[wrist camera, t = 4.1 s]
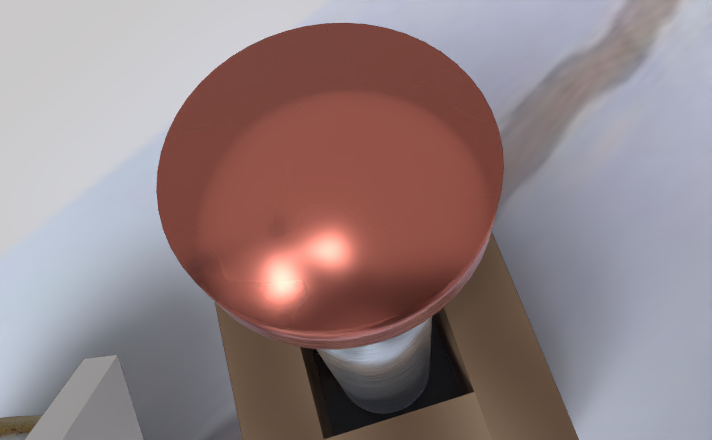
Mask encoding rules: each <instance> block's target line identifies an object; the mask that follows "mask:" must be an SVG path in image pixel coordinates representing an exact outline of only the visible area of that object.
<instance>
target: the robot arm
mask: <svg viewBox="0 0 712 440" xmlns="http://www.w3.org/2000/svg"><path fill="white" fill-rule="evenodd" d="M25 440H144V439H143V435H142V432H141V429H140V426H139V423H138V419H137V416H136V413H135V410H134V406H133V403H132V400H131V397H130V393H129V390H128V387H127V384H126V381H125V377H124V374H123V371H122V368H121V364H120V361H119V358H118V355H111V356H103V357H95V358H87V359H83V361H82V362H81V364H80V365H79V366H78V368H77V369H76V370H75V372H74V373H73V375H72V376H71V377H70V379H69V380H68V381H67V383H66V384H65V385H64V387H63V388H62V390H61V391H60V392H59V394H58V395H57V396H56V398H55V399H54V401H53V402H52V403H51V405H50V406H49V407H48V409H47V410H46V411H45V413H44V414H43V416H42V417H41V418H40V420H39V421H38V422H37V424H36V425H35V426H34V428H33V429H32V431H31V432H30V433H29V435H28V436H27V437H26V439H25Z"/></svg>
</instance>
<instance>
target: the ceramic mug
mask: <svg viewBox="0 0 712 440" xmlns="http://www.w3.org/2000/svg"><path fill="white" fill-rule="evenodd" d="M42 416H43V415H42ZM42 416H17V417H5V418H0V440H25V439H26V437H27V436H28V435H29V433H30V432H31V431H32V429H33V428H34V426H35V425H36V424H37V422H38V421H39V420H40V418H41V417H42Z"/></svg>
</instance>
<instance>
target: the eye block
mask: <svg viewBox="0 0 712 440" xmlns="http://www.w3.org/2000/svg"><path fill="white" fill-rule="evenodd" d="M215 306H216V311H217V316H218V321H219V326H220V331H221V336H222V341H223V346H224V350H225V355H226V360H227V365H228V370H229V375H230V380H231V385H232V390H233V395H234V400H235V405H236V410H237V415H238V420H239V425H240V430H241V434H242V439H243V440H579V439H578V436H577V434H576V432H575V429H574V427H573V424H572V422H571V420H570V417H569V415H568V413H567V410H566V408H565V405H564V403H563V401H562V398H561V396H560V393H559V391H558V389H557V386H556V384H555V382H554V379H553V377H552V374H551V372H550V370H549V367H548V365H547V362H546V360H545V358H544V355H543V353H542V351H541V348H540V346H539V343H538V341H537V339H536V336H535V334H534V331H533V329H532V327H531V324H530V322H529V319H528V317H527V315H526V312H525V310H524V308H523V305H522V303H521V300H520V298H519V296H518V293H517V291H516V288H515V286H514V284H513V281H512V279H511V277H510V274H509V272H508V269H507V267H506V265H505V262H504V260H503V257H502V255H501V253H500V250H499V248H498V246H497V243H496V241H495V238H494V236H493V234H492V231H491V235H490V239H489V242H488V245H487V247H486V249H485V252H484V254H483V257H482V259H481V261H480V263H479V264H478V266H477V268H476V269H475V271H474V273H473V274H472V276H471V278H470V279H469V280H468V282H467V283H466V284H465V285H464V287H463V288H462V289H461V290H460V292H459V293H458V294H457V295H456V296H455V297H454V298H453V299H452V300H451V301H450V302H449V303H448V304H447V305H446V306H445V307H444V308H442V309H441V310H440V311H439V312H437V313H436V314H435V315H433V316H434V319H435V321H436V324H437V327H438V330H439V333H440V336H441V338H442V341H443V344H444V347H445V350H446V353H447V355H448V358H449V361H450V364H451V367H452V369H453V372H454V375H455V378H456V381H457V384H458V386H459V389H460V392H461V395H462V396H460V397H457V398H454V399H450V400H447V401H444V402H441V403H438V404H435V405H431V406H428V407H425V408H422V409H419V410H416V411H412V412H409V413H406V414H403V415H400V416H397V417H393V418H390V419H387V420H384V421H381V422H378V423H374V424H371V425H368V426H365V427H362V428H359V429H355V430H352V431H349V432H346V433H343V434H340V435H336V436H335V434H334V430H333V426H332V423H331V419H330V415H329V411H328V407H327V404H326V400H325V396H324V392H323V388H322V385H321V381H320V377H319V373H318V369H317V365H316V362H315V358H314V354H313V350H312V349H310V348H304V347H298V346H292V345H288V344H285V343H282V342H278V341H275V340H272V339H269V338H267V337H265V336H263V335H261V334H259V333H256V332H254V331H252V330H250V329H249V328H247V327H246V326H244V325H243V324H241V323H240V322H238V321H236V320H235V319H234V318H232V317H231V316H230V315H229V314H228V313H227V312H226V311H224V310H223V309H222V308H221V307H220V306H219V305H218V304H217V303H216V302H215Z"/></svg>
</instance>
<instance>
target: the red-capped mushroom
mask: <svg viewBox="0 0 712 440" xmlns="http://www.w3.org/2000/svg"><path fill="white" fill-rule="evenodd" d="M503 170H504V166H503V148H502V144H501V139H500V134H499V129H498V126H497V124H496V121H495V118H494V116H493V113H492V110H491V108H490V107H489V105H488V103H487V101H486V99H485V98H484V96H483V94H482V92H481V91H480V90H479V88H478V87H477V86H476V84H475V83H474V82H473V80H472V79H471V78H470V77H469V76H468V75H467V74H466V73H465V72H464V71H463V70H462V69H461V68H460V67H459V66H458V65H457V64H456V63H455V62H454V61H452V60H451V59H450V58H448V57H447V56H446V55H445V54H443V53H442V52H441V51H439V50H437V49H435V48H434V47H432V46H430V45H429V44H427V43H425V42H423V41H421V40H419V39H416V38H414V37H412V36H409V35H407V34H404V33H401V32H398V31H395V30H391V29H388V28H383V27H378V26H373V25H367V24H354V23H327V24H319V25H311V26H305V27H301V28H296V29H292V30H288V31H285V32H282V33H279V34H276V35H273V36H270V37H267V38H265V39H263V40H261V41H259V42H257V43H255V44H252V45H250V46H248V47H247V48H245V49H244V50H242V51H240V52H238V53H237V54H235V55H233V56H232V57H230V58H229V59H228V60H226V61H225V62H224V63H222V64H221V65H220V66H218V67H217V68H216V69H215V70H213V71H212V72H211V73H210V74H209V75H208V76H207V77H206V78H205V79H204V80H203V81H202V82H201V83H200V84H199V85H198V86H197V88H196V89H195V90H194V91H193V92H192V93H191V95H190V96H189V97H188V98H187V100H186V101H185V103H184V104H183V106H182V107H181V109H180V110H179V112H178V113H177V115H176V117H175V119H174V121H173V123H172V125H171V127H170V129H169V131H168V133H167V136H166V139H165V142H164V145H163V148H162V151H161V155H160V161H159V166H158V171H157V201H158V211H159V215H160V219H161V223H162V226H163V230H164V233H165V235H166V237H167V240H168V242H169V244H170V247H171V249H172V251H173V252H174V254H175V256H176V257H177V259H178V260H179V262H180V264H181V265H182V267H183V268H184V269H185V270H186V271H187V273H188V274H189V275H190V276H191V277H192V279H193V280H194V281H195V282H196V283H197V284H198V285H199V286H200V287H201V288H202V289H203V290H204V291H205V292H206V293H207V294H208V295H209V296H210V297H211V298H212V299H213V300H214V301H215V302H216V303H217V304H218V305H219V306H220V307H221V308H222V309H223V310H224V311H226V312H227V313H228V314H229V315H230V316H231V317H232V318H234V319H235V320H236V321H238V322H240V323H241V324H243V325H244V326H246V327H247V328H249V329H250V330H252V331H254V332H256V333H259V334H261V335H263V336H265V337H267V338H269V339H272V340H275V341H278V342H282V343H285V344H288V345H292V346H298V347H304V348H310V349H316V350H317V351H318V353H319V354H320V356H321V357H322V359H323V360H324V362H325V363H326V365H327V366H328V368H329V369H330V371H331V372H332V374H333V375H334V377H335V378H336V380H337V381H338V383H339V384H340V386H341V388H342V389H343V391H344V392H345V393H346V395H347V396H348V397H349V399H350V400H351V401H352V402H354V403H355V404H356V405H358V406H359V407H361V408H363V409H365V410H367V411H370V412H374V413H384V414H385V413H393V412H397V411H400V410H402V409H404V408H406V407H408V406H409V405H411V404H412V403H413V402H414V401H415V400H416V399H417V398H418V397H419V396H420V395H421V393H422V392H423V390H424V388H425V386H426V384H427V381H428V377H429V371H430V351H431V329H432V316H433V315H435V314H436V313H437V312H439V311H440V310H441V309H442V308H444V307H445V306H446V305H447V304H448V303H449V302H450V301H451V300H452V299H453V298H454V297H455V296H456V295H457V294H458V293H459V292H460V290H461V289H462V288H463V287H464V285H465V284H466V283H467V282H468V280H469V279H470V278H471V276H472V274H473V273H474V271H475V269H476V268H477V266H478V264H479V263H480V261H481V259H482V257H483V254H484V252H485V249H486V247H487V245H488V242H489V239H490V235H491V231H492V227H493V223H494V219H495V215H496V211H497V207H498V203H499V198H500V194H501V190H502V181H503Z"/></svg>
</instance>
